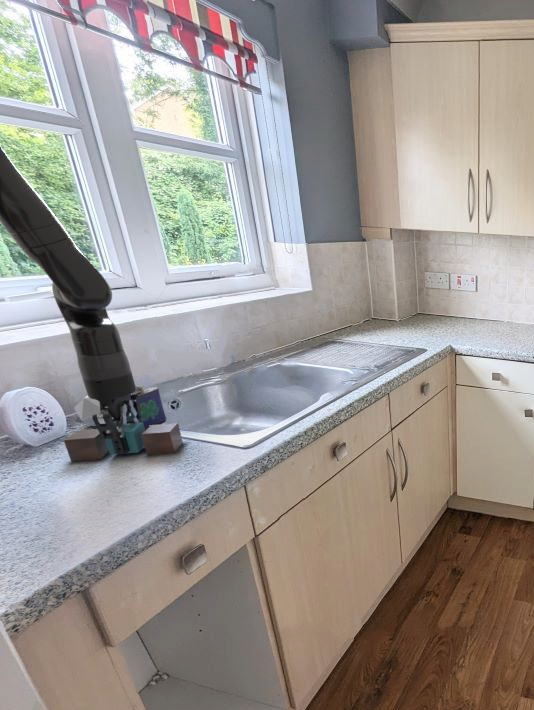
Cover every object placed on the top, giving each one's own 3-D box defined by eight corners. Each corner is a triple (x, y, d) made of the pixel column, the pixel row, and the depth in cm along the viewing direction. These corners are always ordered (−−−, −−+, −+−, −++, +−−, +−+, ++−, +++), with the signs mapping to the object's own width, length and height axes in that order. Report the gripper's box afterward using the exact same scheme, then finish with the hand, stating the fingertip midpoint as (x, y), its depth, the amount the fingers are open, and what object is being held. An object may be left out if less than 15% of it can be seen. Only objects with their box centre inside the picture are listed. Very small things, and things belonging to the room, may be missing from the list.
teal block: (110, 455, 95) (103, 433, 94) (121, 444, 100) (115, 424, 98) (138, 452, 97) (132, 431, 95) (148, 442, 101) (143, 422, 100)
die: (84, 438, 105) (108, 403, 105) (57, 415, 106) (80, 380, 105) (120, 435, 113) (143, 403, 113) (95, 414, 114) (117, 382, 114)
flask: (160, 419, 115) (150, 379, 111) (171, 420, 115) (161, 380, 111) (125, 434, 106) (112, 391, 103) (136, 435, 106) (123, 392, 102)
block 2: (147, 455, 98) (141, 434, 96) (156, 445, 102) (151, 424, 100) (174, 452, 99) (169, 431, 98) (182, 442, 104) (178, 422, 102)
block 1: (71, 461, 94) (63, 440, 92) (84, 451, 98) (77, 430, 96) (101, 459, 95) (94, 437, 93) (112, 448, 100) (106, 428, 98)
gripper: (102, 364, 97) (123, 435, 103) (62, 385, 85) (89, 465, 91) (144, 362, 100) (163, 432, 106) (112, 382, 87) (135, 460, 93)
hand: (129, 447), depth 98 cm, fingers closed on teal block, 5 cm apart
